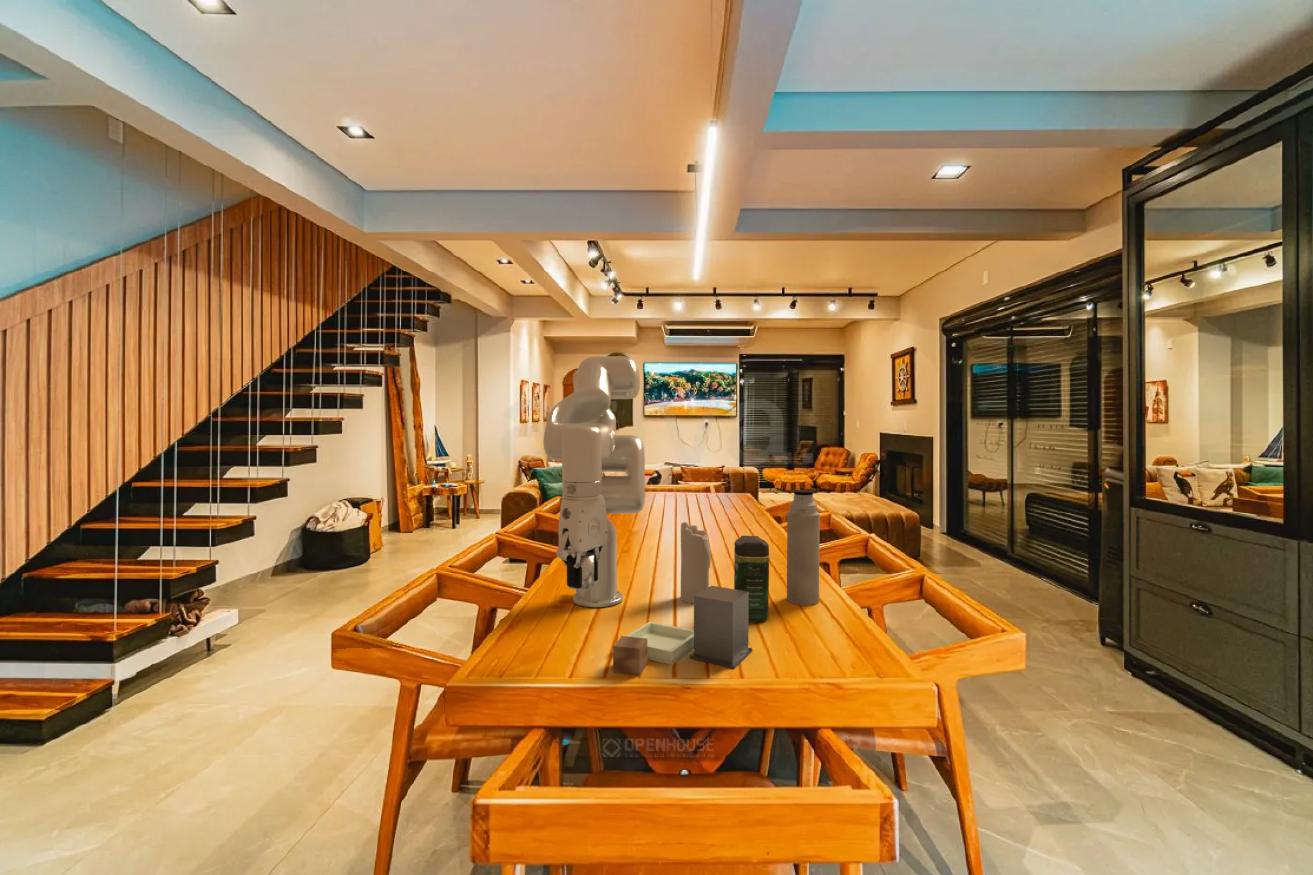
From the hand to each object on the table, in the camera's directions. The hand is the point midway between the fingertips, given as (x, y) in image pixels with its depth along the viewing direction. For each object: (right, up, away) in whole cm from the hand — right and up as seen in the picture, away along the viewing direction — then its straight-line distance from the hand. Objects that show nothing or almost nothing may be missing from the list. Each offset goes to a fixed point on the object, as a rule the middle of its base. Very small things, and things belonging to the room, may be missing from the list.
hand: (582, 582), depth 112 cm
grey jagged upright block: (+27, -14, +35) cm, 46 cm away
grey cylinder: (0, -1, 0) cm, 1 cm away
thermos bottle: (+51, -13, +35) cm, 64 cm away
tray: (+15, -14, +4) cm, 21 cm away
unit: (+27, -14, 0) cm, 30 cm away
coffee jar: (+36, -14, +23) cm, 45 cm away
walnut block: (+9, -15, -6) cm, 18 cm away
